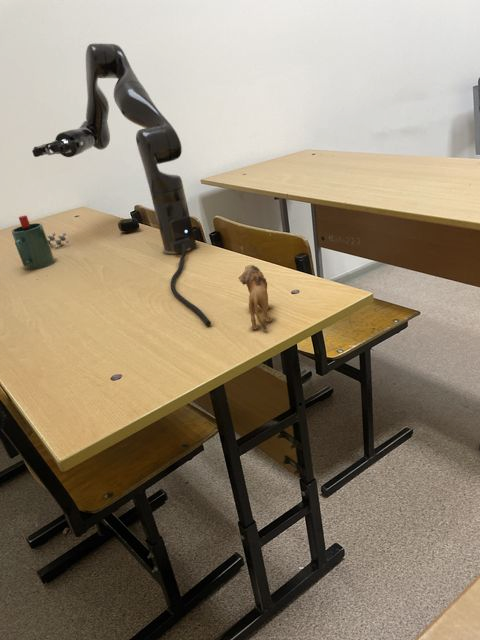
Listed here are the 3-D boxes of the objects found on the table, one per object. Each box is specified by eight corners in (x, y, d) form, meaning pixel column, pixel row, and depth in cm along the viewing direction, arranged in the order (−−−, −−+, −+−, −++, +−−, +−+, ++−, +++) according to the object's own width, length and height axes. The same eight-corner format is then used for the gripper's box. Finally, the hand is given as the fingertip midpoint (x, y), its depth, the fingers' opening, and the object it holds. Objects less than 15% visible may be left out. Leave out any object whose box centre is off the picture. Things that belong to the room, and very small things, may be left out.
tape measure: (140, 230, 178) (138, 220, 177) (121, 235, 177) (118, 224, 175) (138, 226, 184) (135, 216, 182) (119, 231, 183) (116, 220, 181)
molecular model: (31, 251, 177) (26, 236, 175) (38, 246, 181) (33, 232, 179) (67, 248, 174) (62, 233, 172) (73, 244, 177) (68, 229, 175)
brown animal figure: (242, 305, 111) (235, 265, 107) (267, 300, 112) (261, 260, 108) (253, 335, 99) (245, 290, 94) (281, 329, 99) (274, 284, 95)
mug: (33, 261, 166) (20, 225, 161) (59, 257, 165) (46, 221, 160) (14, 275, 155) (-1, 237, 150) (41, 272, 154) (27, 234, 149)
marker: (43, 261, 161) (27, 216, 154) (36, 263, 160) (19, 218, 153) (42, 259, 163) (25, 215, 156) (34, 262, 162) (17, 217, 155)
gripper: (49, 133, 171) (21, 141, 158) (88, 127, 168) (64, 135, 155) (56, 157, 175) (30, 167, 161) (95, 152, 172) (72, 161, 158)
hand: (47, 151), depth 158 cm, fingers open, 8 cm apart
